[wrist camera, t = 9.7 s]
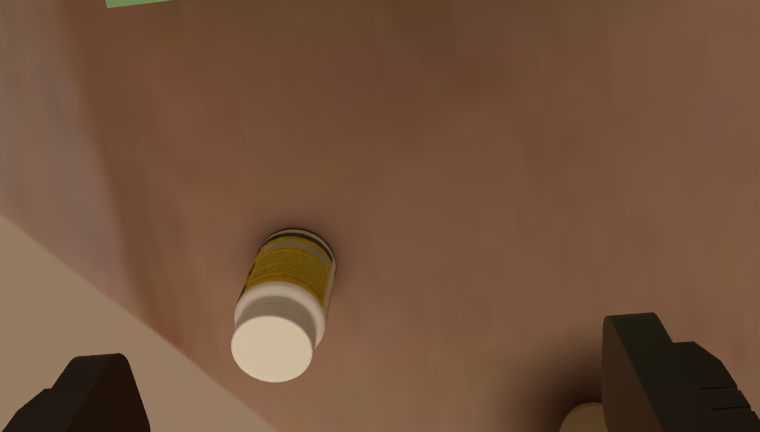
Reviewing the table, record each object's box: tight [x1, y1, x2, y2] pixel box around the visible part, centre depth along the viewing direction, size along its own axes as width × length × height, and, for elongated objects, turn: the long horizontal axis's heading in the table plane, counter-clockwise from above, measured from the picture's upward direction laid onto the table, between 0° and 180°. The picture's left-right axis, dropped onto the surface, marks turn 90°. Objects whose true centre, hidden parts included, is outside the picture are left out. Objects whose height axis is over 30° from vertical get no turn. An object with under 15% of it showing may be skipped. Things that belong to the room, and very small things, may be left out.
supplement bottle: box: [231, 230, 336, 382], centre depth 37 cm, size 5×5×8 cm
